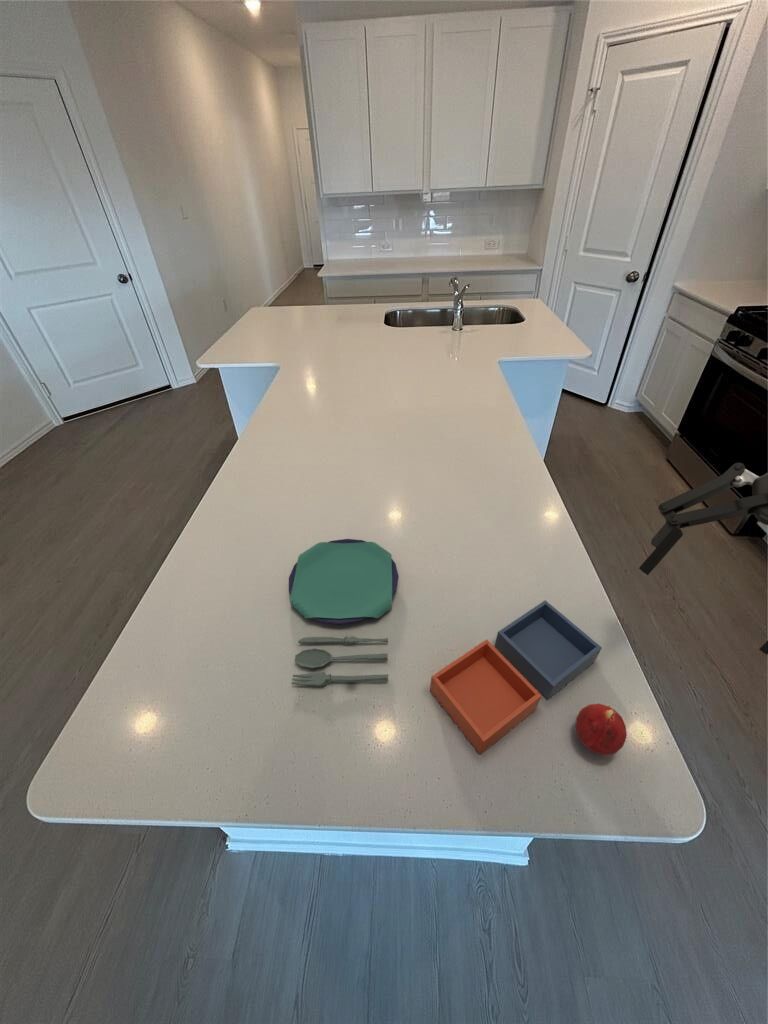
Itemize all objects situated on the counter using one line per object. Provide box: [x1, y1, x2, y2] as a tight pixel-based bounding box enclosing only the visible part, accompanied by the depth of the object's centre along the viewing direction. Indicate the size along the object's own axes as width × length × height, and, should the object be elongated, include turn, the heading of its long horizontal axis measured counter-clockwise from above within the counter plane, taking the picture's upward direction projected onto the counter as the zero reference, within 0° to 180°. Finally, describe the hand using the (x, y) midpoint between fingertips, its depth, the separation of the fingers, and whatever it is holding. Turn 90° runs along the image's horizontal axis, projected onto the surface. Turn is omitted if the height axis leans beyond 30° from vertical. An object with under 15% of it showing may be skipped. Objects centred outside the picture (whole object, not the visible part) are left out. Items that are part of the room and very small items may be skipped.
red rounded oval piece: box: [575, 703, 628, 756], centre depth 56 cm, size 6×6×8 cm
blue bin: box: [494, 600, 603, 701], centre depth 67 cm, size 11×11×4 cm
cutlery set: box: [288, 538, 399, 687], centre depth 76 cm, size 20×30×2 cm, turn 0°
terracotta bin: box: [429, 639, 543, 755], centre depth 62 cm, size 11×11×4 cm
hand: (697, 608), depth 51 cm, fingers open, 13 cm apart
